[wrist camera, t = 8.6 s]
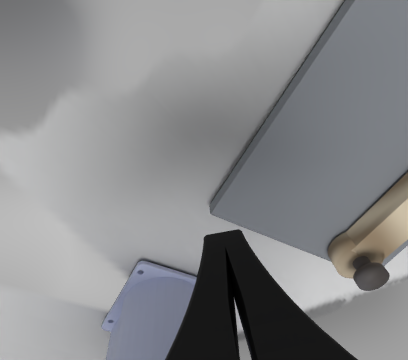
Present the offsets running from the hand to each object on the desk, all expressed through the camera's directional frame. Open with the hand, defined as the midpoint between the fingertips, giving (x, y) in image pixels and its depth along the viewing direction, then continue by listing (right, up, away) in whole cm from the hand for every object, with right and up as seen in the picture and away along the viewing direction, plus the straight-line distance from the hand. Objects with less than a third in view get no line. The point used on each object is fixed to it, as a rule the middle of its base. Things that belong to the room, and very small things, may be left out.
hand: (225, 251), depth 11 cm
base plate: (+10, +4, +10) cm, 15 cm away
